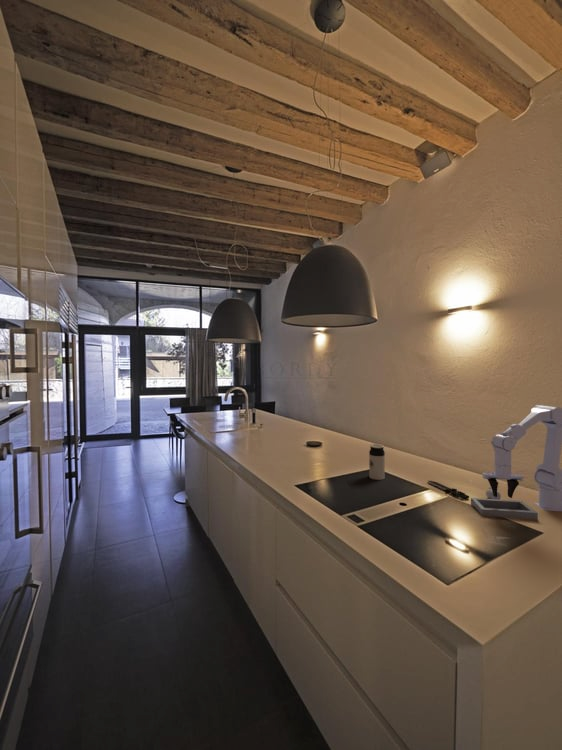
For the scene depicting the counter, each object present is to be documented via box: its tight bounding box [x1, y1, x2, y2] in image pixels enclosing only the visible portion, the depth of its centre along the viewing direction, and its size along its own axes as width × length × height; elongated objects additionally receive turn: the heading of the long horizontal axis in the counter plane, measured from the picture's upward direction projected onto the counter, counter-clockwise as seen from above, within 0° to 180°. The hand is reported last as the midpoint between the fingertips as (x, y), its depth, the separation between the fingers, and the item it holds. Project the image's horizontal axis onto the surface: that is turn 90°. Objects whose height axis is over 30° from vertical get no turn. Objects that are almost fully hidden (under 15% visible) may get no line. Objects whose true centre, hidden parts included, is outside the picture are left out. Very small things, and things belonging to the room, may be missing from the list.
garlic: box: [485, 487, 502, 500], centre depth 153 cm, size 6×5×5 cm
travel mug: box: [368, 443, 386, 481], centre depth 182 cm, size 8×8×18 cm
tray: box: [470, 497, 539, 521], centre depth 139 cm, size 20×12×3 cm, turn 79°
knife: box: [427, 480, 470, 500], centre depth 164 cm, size 25×6×1 cm, turn 10°
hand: (502, 496), depth 139 cm, fingers open, 5 cm apart
